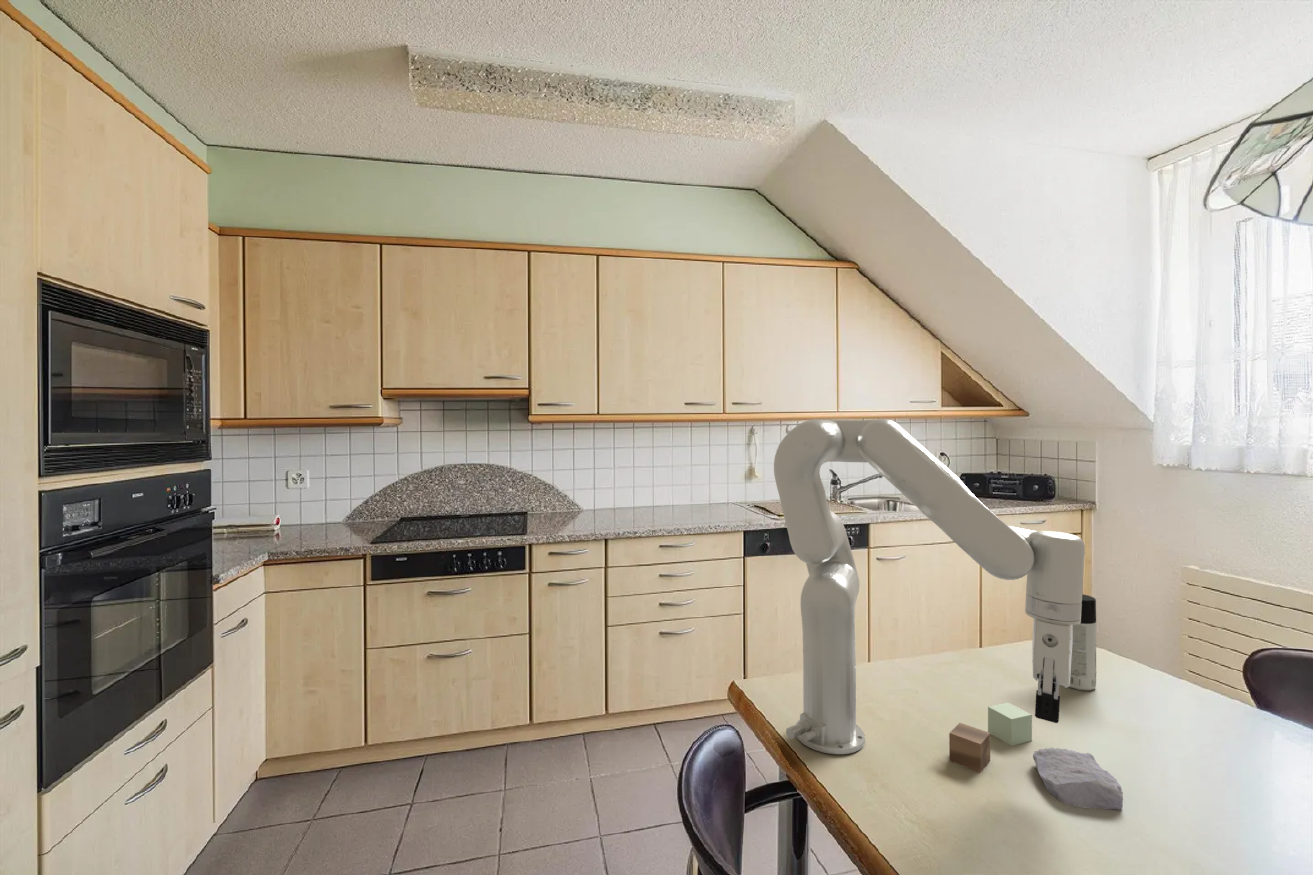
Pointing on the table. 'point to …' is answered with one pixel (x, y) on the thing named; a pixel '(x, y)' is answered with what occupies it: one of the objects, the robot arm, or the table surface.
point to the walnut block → (969, 747)
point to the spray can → (1084, 648)
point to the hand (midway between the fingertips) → (1046, 718)
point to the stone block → (1078, 779)
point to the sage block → (1010, 723)
